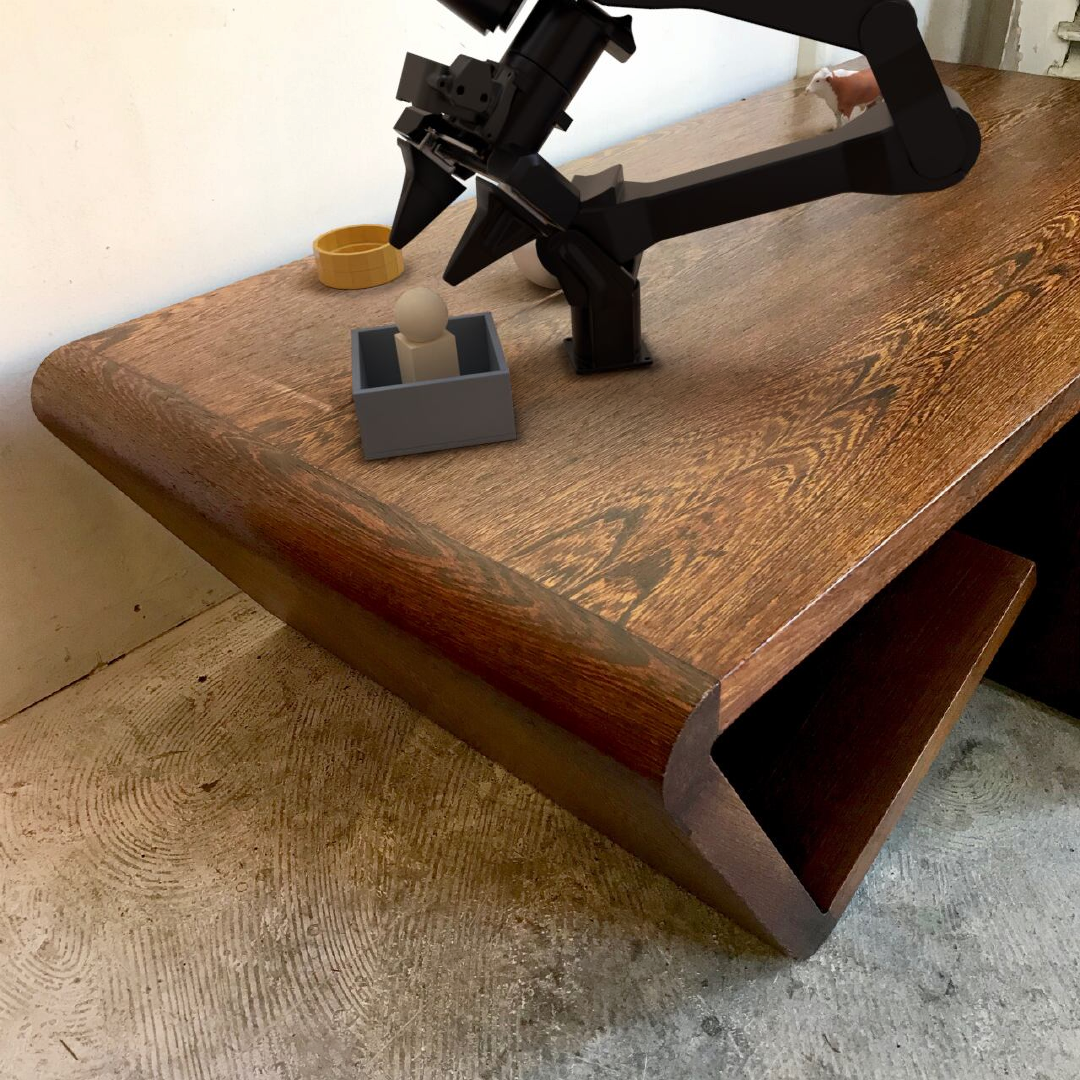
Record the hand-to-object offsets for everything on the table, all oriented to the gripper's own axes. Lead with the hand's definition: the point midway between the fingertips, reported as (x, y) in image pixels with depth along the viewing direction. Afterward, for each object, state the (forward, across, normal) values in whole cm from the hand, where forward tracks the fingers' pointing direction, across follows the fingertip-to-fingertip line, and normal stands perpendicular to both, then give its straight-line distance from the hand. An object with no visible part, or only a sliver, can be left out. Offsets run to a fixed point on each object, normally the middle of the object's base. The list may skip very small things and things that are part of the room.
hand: (419, 264), depth 77 cm
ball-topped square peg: (+8, +1, +7) cm, 11 cm away
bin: (+9, +2, +7) cm, 12 cm away
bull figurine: (-46, -33, +62) cm, 84 cm away
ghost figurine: (-6, -14, +22) cm, 27 cm away
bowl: (+4, -29, +12) cm, 32 cm away
